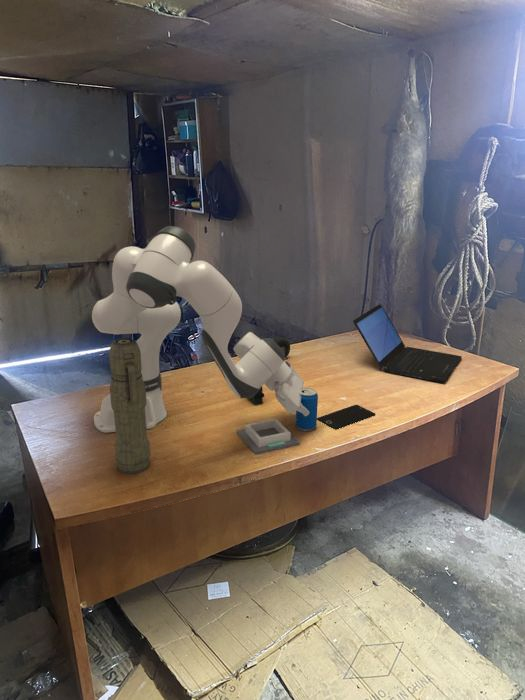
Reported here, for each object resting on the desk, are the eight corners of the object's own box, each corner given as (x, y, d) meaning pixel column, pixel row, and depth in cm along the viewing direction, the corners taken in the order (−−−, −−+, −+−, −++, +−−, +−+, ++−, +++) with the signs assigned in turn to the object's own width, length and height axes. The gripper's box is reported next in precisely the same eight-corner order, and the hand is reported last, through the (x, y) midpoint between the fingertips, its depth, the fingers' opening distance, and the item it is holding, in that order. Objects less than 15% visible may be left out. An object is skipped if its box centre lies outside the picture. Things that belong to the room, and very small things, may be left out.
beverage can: (303, 420, 169) (304, 385, 165) (320, 426, 165) (322, 390, 161) (291, 427, 164) (292, 391, 160) (308, 434, 161) (310, 397, 157)
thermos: (127, 480, 136) (116, 351, 125) (109, 460, 145) (97, 338, 134) (159, 469, 141) (151, 344, 130) (139, 450, 150) (130, 332, 139)
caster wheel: (283, 357, 226) (253, 361, 218) (285, 335, 224) (255, 338, 215) (291, 361, 222) (261, 365, 213) (293, 339, 219) (263, 342, 211)
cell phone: (316, 420, 170) (316, 417, 170) (356, 406, 180) (356, 404, 180) (335, 431, 163) (335, 428, 163) (375, 416, 173) (376, 413, 173)
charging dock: (255, 454, 149) (255, 444, 148) (236, 432, 161) (236, 422, 160) (299, 444, 154) (299, 434, 153) (278, 424, 166) (278, 414, 165)
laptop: (444, 386, 197) (451, 336, 191) (348, 366, 215) (352, 320, 209) (462, 359, 225) (468, 315, 218) (376, 344, 242) (379, 302, 236)
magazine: (258, 404, 176) (249, 360, 177) (243, 406, 188) (235, 364, 189) (268, 402, 177) (260, 358, 178) (252, 404, 189) (245, 362, 190)
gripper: (281, 383, 150) (314, 417, 152) (288, 358, 169) (317, 389, 171) (265, 397, 152) (298, 430, 154) (273, 370, 171) (303, 400, 173)
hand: (308, 408), depth 163 cm, fingers closed on beverage can, 6 cm apart
